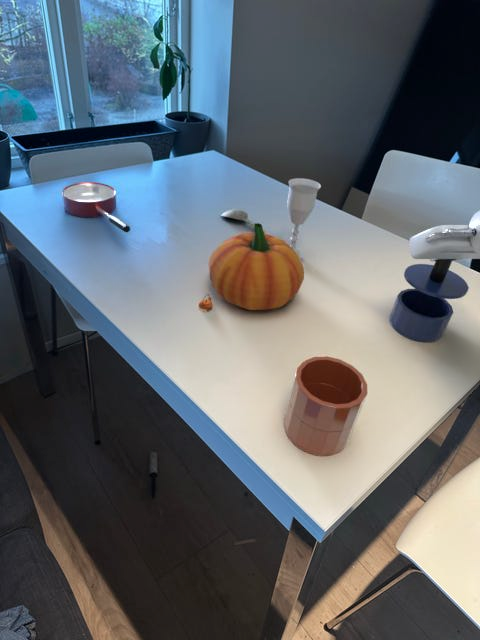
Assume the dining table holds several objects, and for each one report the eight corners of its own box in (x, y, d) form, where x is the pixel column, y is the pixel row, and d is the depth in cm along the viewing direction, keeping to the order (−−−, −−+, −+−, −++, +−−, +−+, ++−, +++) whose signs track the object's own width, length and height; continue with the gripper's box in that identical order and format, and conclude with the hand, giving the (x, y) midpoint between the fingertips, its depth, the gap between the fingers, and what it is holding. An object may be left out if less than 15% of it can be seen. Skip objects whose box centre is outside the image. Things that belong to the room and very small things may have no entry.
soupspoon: (235, 213, 125) (216, 219, 122) (236, 202, 123) (216, 207, 120) (288, 244, 112) (268, 251, 109) (290, 232, 110) (269, 239, 106)
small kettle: (196, 304, 88) (196, 293, 86) (210, 301, 89) (211, 290, 87) (201, 312, 86) (202, 301, 84) (215, 310, 87) (216, 298, 85)
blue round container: (448, 324, 91) (458, 302, 88) (433, 349, 84) (445, 327, 81) (399, 304, 95) (407, 282, 92) (381, 326, 88) (390, 303, 85)
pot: (358, 425, 67) (377, 378, 61) (331, 468, 61) (349, 420, 55) (303, 394, 71) (316, 347, 65) (271, 431, 65) (282, 382, 59)
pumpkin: (312, 315, 89) (329, 248, 80) (219, 323, 84) (225, 253, 75) (280, 265, 103) (291, 204, 94) (199, 270, 98) (202, 205, 89)
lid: (471, 284, 85) (495, 235, 79) (457, 309, 77) (482, 257, 71) (413, 263, 90) (431, 215, 84) (394, 285, 82) (412, 234, 76)
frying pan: (163, 243, 106) (162, 218, 102) (112, 256, 99) (109, 229, 95) (103, 194, 125) (101, 172, 121) (56, 202, 118) (53, 179, 114)
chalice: (286, 266, 103) (300, 191, 92) (270, 253, 108) (281, 179, 97) (311, 261, 107) (327, 188, 96) (294, 248, 111) (308, 177, 100)
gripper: (442, 251, 65) (392, 274, 78) (560, 251, 69) (493, 273, 82) (437, 210, 66) (388, 239, 79) (554, 212, 70) (489, 240, 83)
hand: (443, 256), depth 81 cm, fingers closed on lid, 2 cm apart
